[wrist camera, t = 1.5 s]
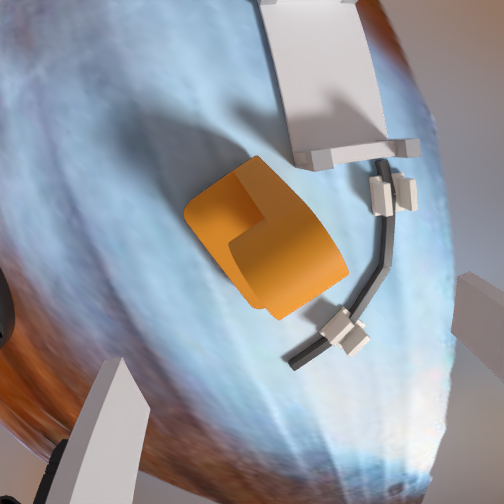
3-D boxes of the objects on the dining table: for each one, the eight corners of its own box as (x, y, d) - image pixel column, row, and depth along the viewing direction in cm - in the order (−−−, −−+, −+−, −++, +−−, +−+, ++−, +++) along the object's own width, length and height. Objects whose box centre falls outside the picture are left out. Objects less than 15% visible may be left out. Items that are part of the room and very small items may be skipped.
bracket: (182, 205, 25) (151, 246, 14) (254, 155, 25) (281, 156, 13) (253, 299, 29) (273, 386, 17) (319, 256, 28) (377, 322, 17)
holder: (295, 167, 25) (314, 171, 20) (255, -4, 20) (264, -35, 14) (386, 153, 25) (421, 156, 20) (348, -5, 20) (372, -31, 15)
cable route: (286, 364, 31) (290, 380, 29) (376, 155, 25) (390, 156, 23) (335, 372, 33) (342, 387, 30) (425, 182, 27) (440, 186, 24)
